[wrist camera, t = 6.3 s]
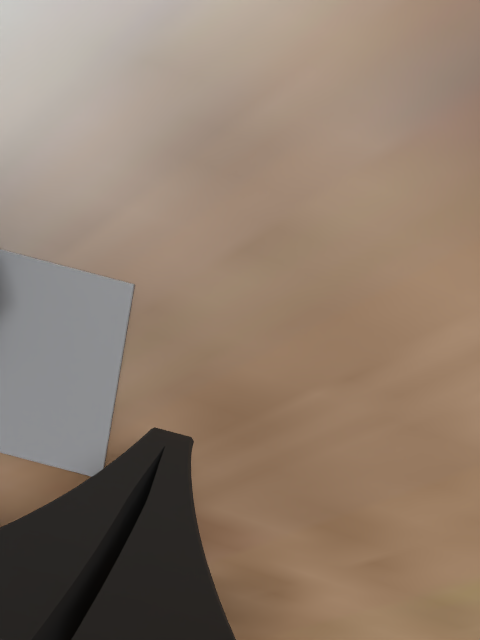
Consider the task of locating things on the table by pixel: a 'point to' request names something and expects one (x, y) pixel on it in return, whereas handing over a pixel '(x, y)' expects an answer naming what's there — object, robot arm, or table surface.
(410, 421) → the table surface
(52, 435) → the mat
